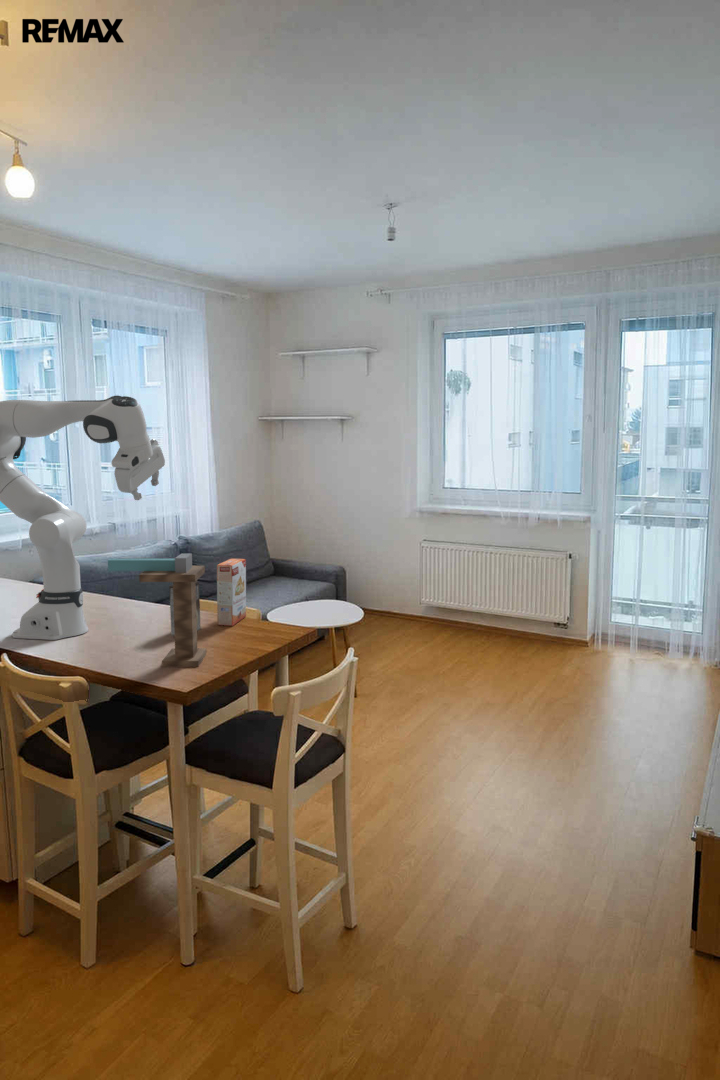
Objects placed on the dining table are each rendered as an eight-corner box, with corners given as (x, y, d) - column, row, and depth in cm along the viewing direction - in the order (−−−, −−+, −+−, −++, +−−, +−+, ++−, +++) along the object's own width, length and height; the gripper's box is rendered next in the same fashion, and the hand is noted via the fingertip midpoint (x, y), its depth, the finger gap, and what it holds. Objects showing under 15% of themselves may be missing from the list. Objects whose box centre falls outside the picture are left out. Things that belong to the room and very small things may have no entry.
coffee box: (183, 628, 241) (181, 580, 239) (201, 629, 240) (199, 581, 238) (170, 635, 233) (168, 585, 230) (189, 636, 231) (187, 586, 229)
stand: (142, 667, 200) (139, 574, 196) (155, 652, 213) (152, 565, 210) (197, 667, 200) (195, 574, 196) (207, 652, 214) (204, 565, 210)
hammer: (105, 572, 199) (104, 558, 198) (114, 567, 207) (113, 553, 206) (186, 572, 199) (185, 558, 199) (192, 567, 207) (191, 553, 207)
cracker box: (234, 626, 243) (232, 565, 240) (216, 625, 244) (215, 564, 241) (247, 616, 257) (246, 558, 254) (231, 615, 258) (230, 557, 255)
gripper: (147, 435, 225) (156, 475, 232) (107, 464, 209) (119, 506, 216) (164, 437, 223) (173, 477, 230) (126, 466, 207) (137, 508, 214)
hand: (147, 491), depth 223 cm, fingers open, 8 cm apart
